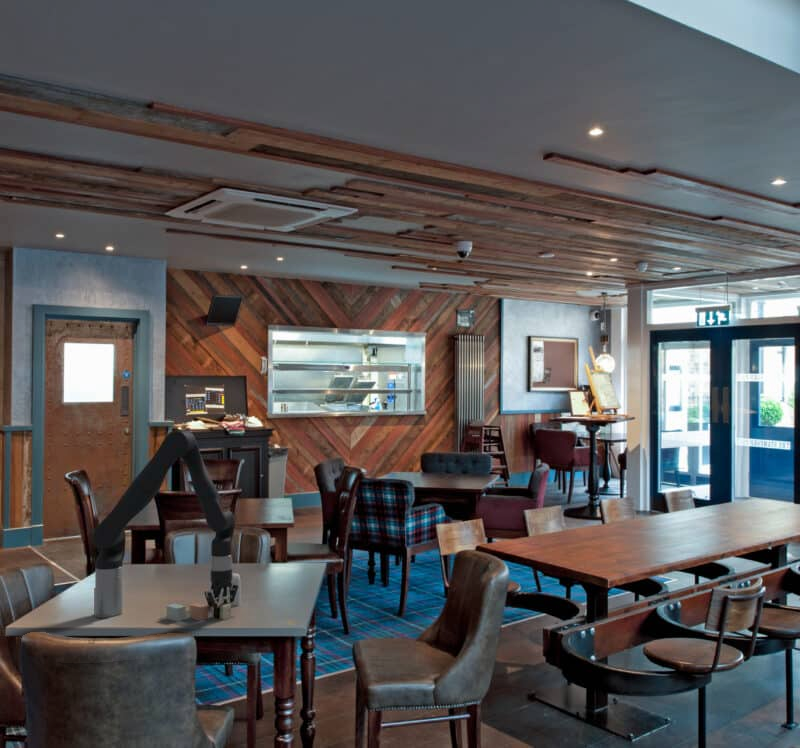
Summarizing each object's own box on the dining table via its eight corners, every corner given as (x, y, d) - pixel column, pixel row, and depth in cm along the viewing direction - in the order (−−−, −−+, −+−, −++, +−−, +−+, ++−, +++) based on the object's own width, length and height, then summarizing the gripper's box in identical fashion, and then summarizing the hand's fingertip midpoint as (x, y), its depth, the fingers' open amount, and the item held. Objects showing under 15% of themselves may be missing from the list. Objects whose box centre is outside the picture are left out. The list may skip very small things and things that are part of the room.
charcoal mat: (157, 620, 277) (157, 619, 277) (198, 609, 292) (198, 607, 292) (194, 631, 265) (194, 629, 265) (235, 618, 280) (235, 616, 280)
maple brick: (211, 616, 280) (212, 603, 280) (219, 614, 283) (219, 601, 283) (223, 619, 276) (223, 606, 277) (230, 617, 279) (230, 604, 279)
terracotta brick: (189, 617, 279) (189, 604, 279) (197, 615, 282) (197, 602, 282) (200, 620, 275) (200, 607, 275) (208, 618, 278) (208, 605, 278)
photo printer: (212, 608, 293) (212, 574, 293) (213, 604, 297) (213, 571, 298) (240, 607, 294) (240, 573, 294) (241, 604, 298) (241, 571, 299)
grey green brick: (166, 618, 278) (166, 605, 278) (174, 616, 281) (174, 603, 281) (177, 621, 274) (177, 608, 274) (185, 619, 277) (185, 606, 277)
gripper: (229, 562, 288) (229, 610, 287) (198, 569, 276) (198, 619, 276) (243, 565, 283) (243, 614, 283) (212, 572, 272) (212, 623, 272)
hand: (221, 616), depth 280 cm, fingers closed on maple brick, 3 cm apart
